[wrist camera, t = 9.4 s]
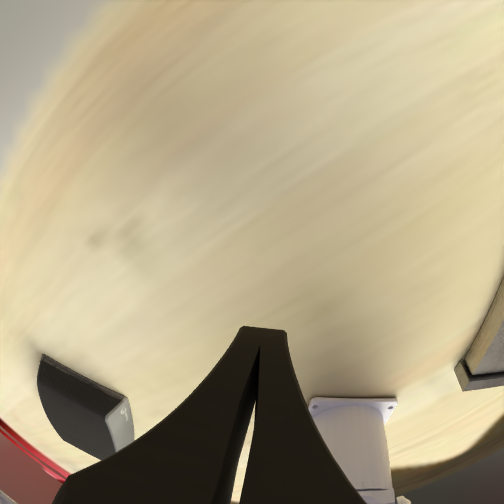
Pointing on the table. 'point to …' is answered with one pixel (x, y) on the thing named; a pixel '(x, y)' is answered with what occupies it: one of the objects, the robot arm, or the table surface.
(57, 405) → the external hard drive
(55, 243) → the table surface
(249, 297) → the table surface
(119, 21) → the table surface
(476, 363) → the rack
